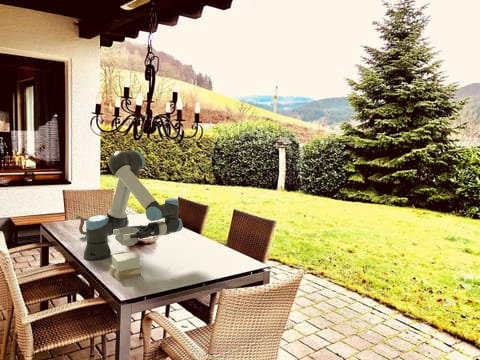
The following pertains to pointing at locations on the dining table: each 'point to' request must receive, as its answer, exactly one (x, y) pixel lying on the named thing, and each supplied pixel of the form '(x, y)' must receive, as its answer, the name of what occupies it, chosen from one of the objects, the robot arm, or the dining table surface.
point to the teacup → (126, 231)
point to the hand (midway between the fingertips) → (118, 234)
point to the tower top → (125, 261)
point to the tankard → (82, 225)
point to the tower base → (125, 273)
